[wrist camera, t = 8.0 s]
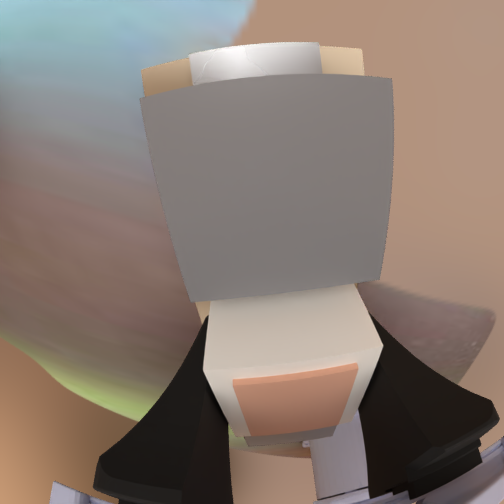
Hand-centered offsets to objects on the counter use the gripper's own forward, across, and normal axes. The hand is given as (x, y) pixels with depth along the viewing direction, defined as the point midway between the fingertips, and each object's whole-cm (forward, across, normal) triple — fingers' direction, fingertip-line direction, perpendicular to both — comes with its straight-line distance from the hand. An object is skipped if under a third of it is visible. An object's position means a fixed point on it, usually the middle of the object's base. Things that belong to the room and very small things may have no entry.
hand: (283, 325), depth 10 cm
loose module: (+1, 0, 0) cm, 1 cm away
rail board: (+4, 0, 0) cm, 4 cm away
